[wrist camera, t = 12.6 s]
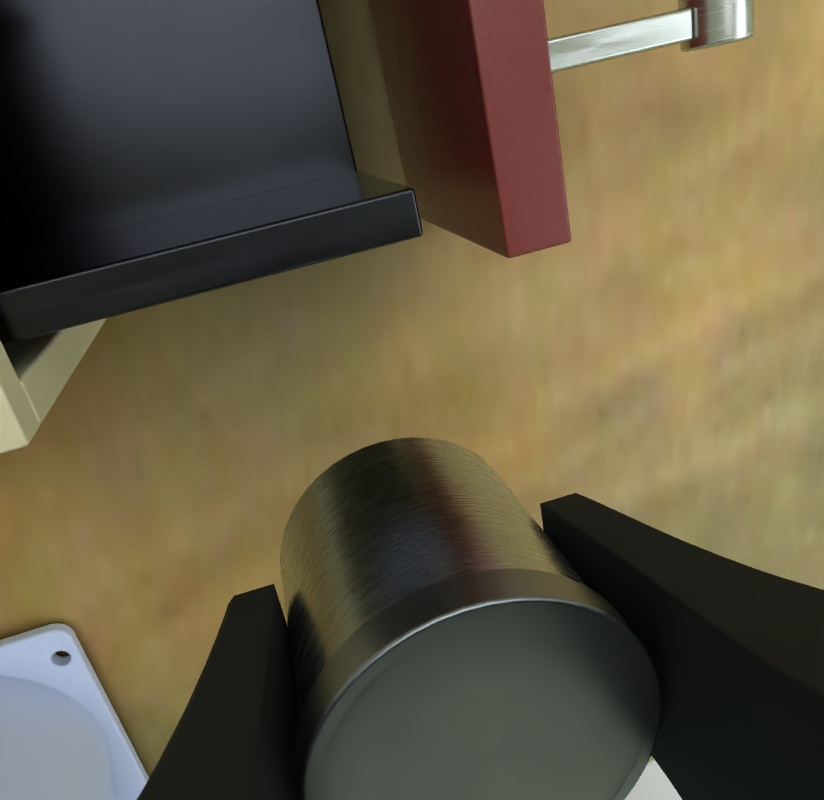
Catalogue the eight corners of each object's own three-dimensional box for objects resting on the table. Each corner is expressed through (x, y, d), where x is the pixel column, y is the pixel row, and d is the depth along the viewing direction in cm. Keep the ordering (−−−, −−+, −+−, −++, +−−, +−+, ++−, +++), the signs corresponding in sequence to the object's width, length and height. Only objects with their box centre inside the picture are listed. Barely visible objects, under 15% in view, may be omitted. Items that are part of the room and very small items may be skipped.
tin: (533, 607, 14) (670, 820, 9) (308, 680, 13) (348, 945, 9) (503, 400, 12) (655, 548, 8) (242, 471, 11) (253, 677, 7)
